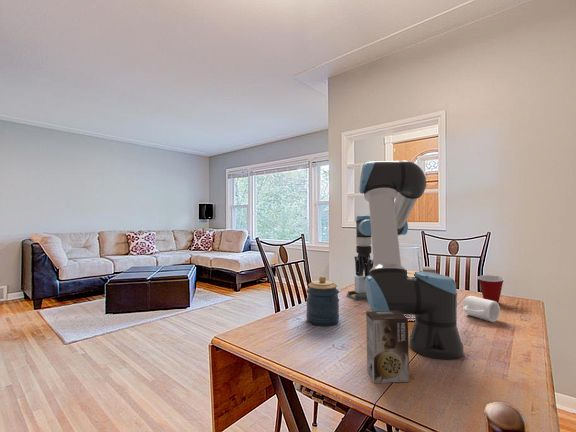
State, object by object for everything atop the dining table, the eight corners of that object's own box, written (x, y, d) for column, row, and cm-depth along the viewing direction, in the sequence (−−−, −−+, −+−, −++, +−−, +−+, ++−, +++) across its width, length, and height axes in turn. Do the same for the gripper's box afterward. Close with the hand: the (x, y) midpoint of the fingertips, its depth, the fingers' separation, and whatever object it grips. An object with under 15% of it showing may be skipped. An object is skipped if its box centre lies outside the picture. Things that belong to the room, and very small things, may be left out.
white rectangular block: (358, 293, 152) (358, 277, 152) (354, 291, 156) (354, 276, 155) (373, 291, 156) (373, 276, 156) (369, 290, 159) (369, 274, 159)
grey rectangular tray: (355, 300, 149) (355, 294, 149) (346, 296, 156) (346, 291, 156) (382, 296, 155) (382, 291, 155) (372, 292, 163) (372, 288, 163)
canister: (324, 313, 129) (324, 271, 129) (346, 322, 118) (346, 277, 118) (299, 319, 122) (299, 275, 122) (320, 329, 111) (319, 281, 111)
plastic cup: (471, 300, 147) (471, 275, 147) (488, 298, 150) (488, 274, 150) (493, 306, 137) (492, 280, 137) (510, 304, 140) (510, 278, 140)
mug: (475, 313, 128) (475, 294, 128) (500, 320, 120) (500, 300, 119) (456, 317, 123) (456, 298, 123) (481, 325, 114) (481, 304, 114)
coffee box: (399, 369, 82) (399, 310, 82) (409, 382, 76) (409, 318, 75) (365, 370, 82) (365, 310, 82) (373, 383, 75) (373, 318, 75)
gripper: (380, 246, 149) (380, 294, 149) (360, 243, 165) (360, 286, 165) (367, 247, 146) (368, 295, 147) (348, 244, 162) (348, 288, 162)
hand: (364, 290), depth 156 cm, fingers closed on white rectangular block, 3 cm apart
